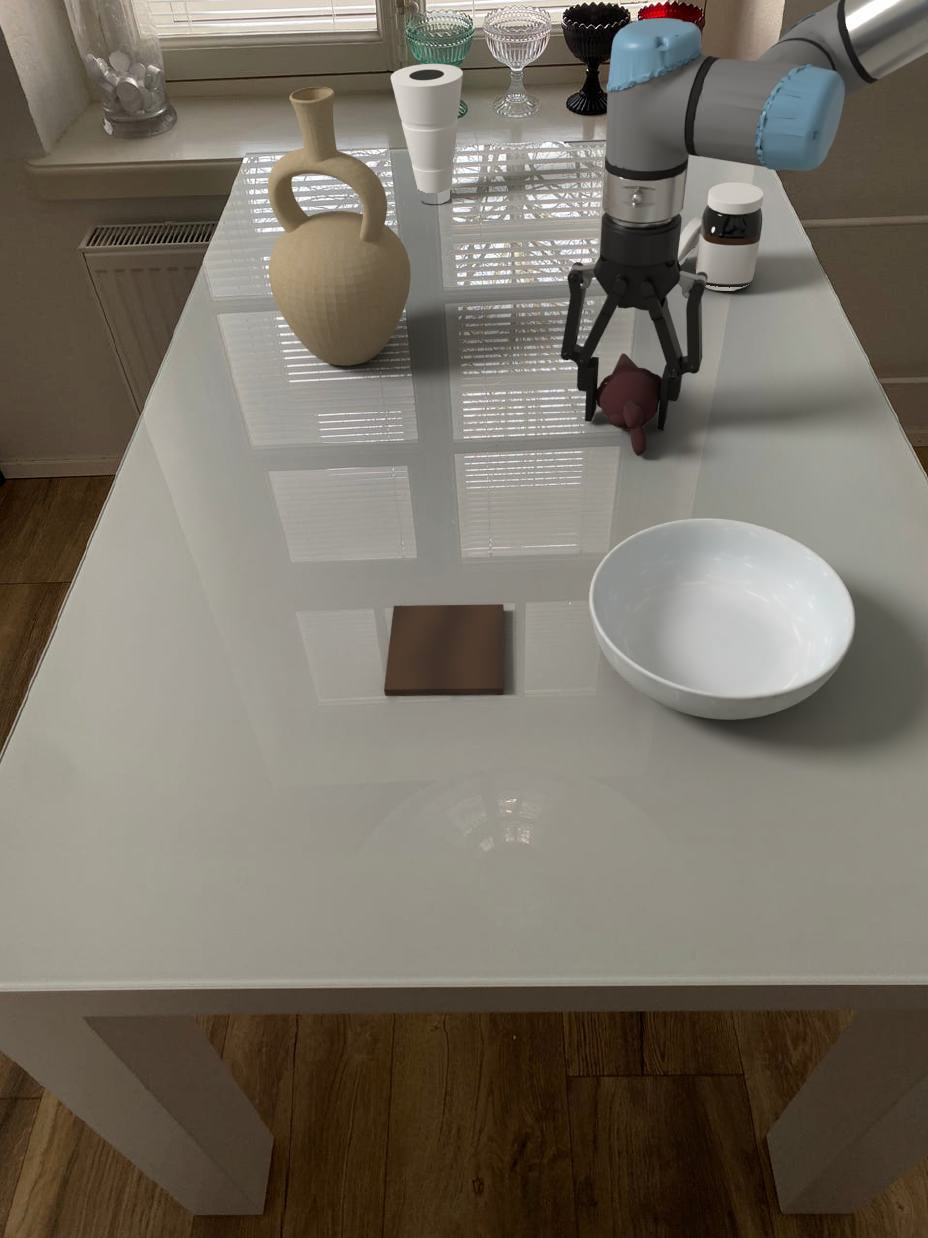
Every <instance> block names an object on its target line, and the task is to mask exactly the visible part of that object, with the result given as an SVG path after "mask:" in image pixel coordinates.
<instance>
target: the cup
mask: <svg viewBox="0 0 928 1238" xmlns="http://www.w3.org/2000/svg"><path fill="white" fill-rule="evenodd" d="M463 76H464V72H463V70H462V69H461V68H460V67H458V66H454V65H450V64H445V63H422V64H415V65H410V66H405V67H402V68H400V69H398V70H396V71H394V72H393V73H391V75H390V82H391V85H392V90H393V94H394V98H395V101H396V106H397V111H398V114H399V118H400V120H401V127H402V130H403V134H404V138H405V142H406V147H407V150H408V154H409V158H410V161H411V166H412V171H413V175H414V180H415V183H416V187H417V190H418V189H419V190H420V191H423V192H425V193H440V192H443V191H445V190H448V189H449V188H450V187H451V188H452V186H451V185H452V184H453V173H454V164H455V163H454V159H455V153H456V143H457V136H458V135H457V134H458V133H457V132H458V125H459V114H460V105H461V96H462V86H463Z"/></svg>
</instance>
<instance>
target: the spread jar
mask: <svg viewBox="0 0 928 1238" xmlns="http://www.w3.org/2000/svg"><path fill="white" fill-rule="evenodd" d="M764 194H765V193H764V191H763V190H762V189H761V188H760V187H759V186H756V185H755V184H754V185H753V184H751V183H746V182H738V181H737V182H736V181H734V182H733V181H731V182H723V183H719V184H716V185H714V186H712V187H711V188H709V190H708V195H707V202H706V203H707V205H706V206H705V208H704V209H703V213H702V217H701V218H700V217H698V216H695V217H693V218H692V219H691V220H690V221H689V222H688V224H686V226H685V228H683V230H682V232H680V241H679V250H678V261H679V262H680V261H681V260H682V259H683V258H684V257H685V256H686V255H687V254H688V253H689V252H690V251H691V250H692V249H693V248H694V247H695V246H696V247H697V252H696V259H695V269H696V273H698V272H705V273H706V274H707V276H708V278H707V282H706V285H710V286H715V287H716V286H718V287H729V288H730V287H743V286H746V285H748V284H750V283H751V284H752V282H753V279H754V276H755V275H754V274H755V270H756V266H757V259H758V253H759V248H760V241H761V236H762V228H763V212H762V208H761V207H762V206H763V202H764V196H765V195H764ZM696 247H695V248H696ZM751 281H752V282H751ZM751 284H750V285H751Z"/></svg>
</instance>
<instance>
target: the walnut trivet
mask: <svg viewBox="0 0 928 1238" xmlns="http://www.w3.org/2000/svg"><path fill="white" fill-rule="evenodd" d="M504 605H505V604H503V603H494V604H491V603H490V604H489V603H488V604H486V603H485V604H483V603H482V604H428V605H427V604H425V605H424V604H422V605H421V604H419V605H418V604H417V605H393V609H392V618H391V626H390V635H389V643H388V650H387V652H388V653H387V660H386V668H385V669H386V670H385V677H384V685H383V686H384V687H383V691H384V692H383V693H384V696H449V695H450V696H451V695H452V696H453V695H454V696H455V695H456V696H457V695H458V696H459V695H460V696H461V695H464V696H465V695H467V696H468V695H504V694H505V692H504V691H505V690H504V689H505V688H504V684H505V683H504V682H505V678H504V677H505V676H504V675H505V674H504V673H505V671H504V669H505V667H504V665H505V664H504V663H505V662H504V661H505V660H504V659H505V657H504V656H505V655H504V654H505V653H504V651H505V650H504V649H505V646H504V645H505V639H504V637H505V636H504V634H505V633H504V632H505V631H504V630H505V627H504V626H505V620H504V619H505V617H504V615H505V610H504V608H505V607H504Z"/></svg>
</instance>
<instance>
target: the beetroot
mask: <svg viewBox="0 0 928 1238" xmlns="http://www.w3.org/2000/svg"><path fill="white" fill-rule="evenodd" d="M661 381H662V376H661V375H659V374H656V373H654V372H652V371H651V370H649V369H647V368H645V367H639V366H638V365H637V364H636V363H635V362H634V361H633V360H632V359H631V358H630V357H629V356H628V355H627V354H626V353H625V352H624V353H621V354H620V356H619V357H618V360H617V362H616V364H615V367H614V369H613V371H612V373H611V374H608V375H607V376H605V377H604V378H603V379H602V381H601V382H600V383H599V385H598V386H597V390H596V391H595V398H596V400H597V404H596V406H597V407H598V408H600V409H601V412H602V414H603V415H604V416H605V418H606V421H607V423H609V424H611V425H612V426H613V427H616V428H619V429H623V430H626V431H629V432H630V433H629V434H630V443H631V447H632V450H633V452H634V455H636V456H638V457H639V456H643V455H644V454H645V452H646V451H647V448H648V437H647V436H648V435H647V434H646V430H645V428H644V427H645V426H646V425H647V424H649V422H651V421H652V420H653V419H654V418H655V417H656V415H657V414H658V410H659V400H660V391H661Z"/></svg>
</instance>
